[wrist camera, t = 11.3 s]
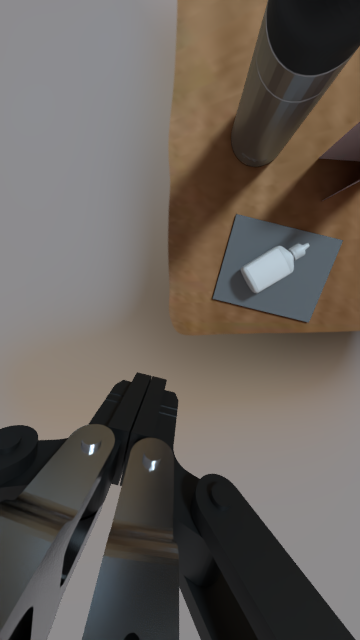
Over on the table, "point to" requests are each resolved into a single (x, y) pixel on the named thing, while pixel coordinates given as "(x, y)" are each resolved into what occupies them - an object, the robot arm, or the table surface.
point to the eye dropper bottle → (271, 266)
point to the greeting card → (346, 149)
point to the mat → (288, 293)
